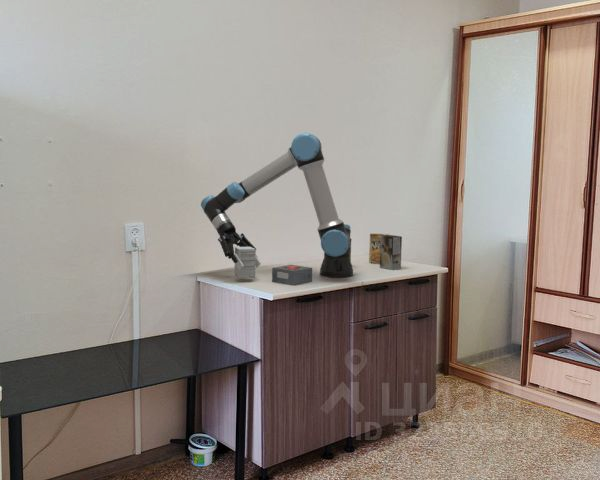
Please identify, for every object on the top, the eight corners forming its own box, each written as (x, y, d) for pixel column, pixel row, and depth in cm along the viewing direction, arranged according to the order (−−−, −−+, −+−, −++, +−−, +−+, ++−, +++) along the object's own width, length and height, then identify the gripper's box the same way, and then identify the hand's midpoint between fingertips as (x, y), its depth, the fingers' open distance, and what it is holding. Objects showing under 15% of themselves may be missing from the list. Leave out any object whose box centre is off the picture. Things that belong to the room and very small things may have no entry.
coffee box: (401, 269, 298) (402, 236, 296) (392, 270, 294) (393, 236, 293) (388, 266, 305) (389, 234, 304) (378, 267, 302) (379, 235, 300)
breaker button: (291, 276, 262) (291, 265, 261) (299, 278, 259) (299, 266, 258) (284, 278, 258) (284, 266, 258) (292, 279, 256) (293, 267, 255)
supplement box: (234, 276, 261) (234, 246, 260) (250, 275, 264) (251, 246, 263) (238, 279, 255) (238, 248, 253) (255, 278, 257) (256, 248, 256)
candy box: (368, 263, 316) (369, 233, 314) (371, 262, 320) (372, 232, 318) (385, 264, 312) (385, 234, 310) (387, 263, 316) (388, 233, 314)
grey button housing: (290, 278, 267) (290, 264, 266) (312, 281, 260) (312, 267, 259) (271, 281, 258) (271, 267, 257) (293, 285, 250) (293, 271, 250)
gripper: (237, 230, 275) (263, 269, 267) (200, 233, 258) (226, 275, 250) (246, 219, 272) (272, 258, 264) (209, 222, 254) (236, 263, 246)
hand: (250, 266), depth 257 cm, fingers closed on supplement box, 10 cm apart
